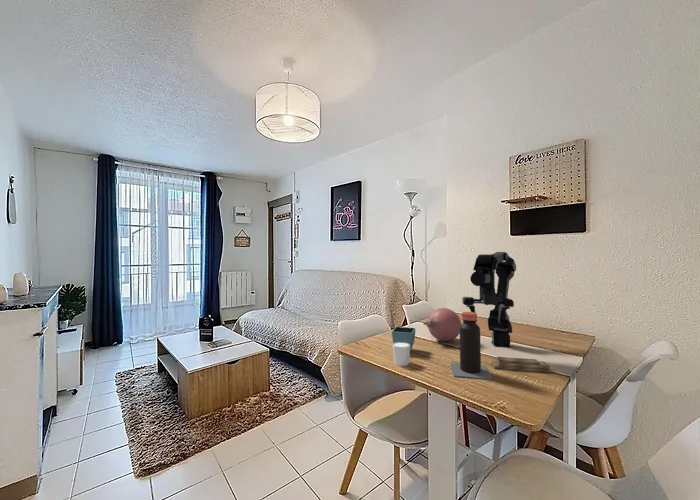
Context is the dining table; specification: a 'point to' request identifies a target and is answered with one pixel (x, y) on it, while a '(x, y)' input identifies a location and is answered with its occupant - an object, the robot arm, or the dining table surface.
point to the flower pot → (403, 335)
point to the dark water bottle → (470, 344)
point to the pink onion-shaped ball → (444, 324)
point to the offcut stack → (521, 364)
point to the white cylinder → (401, 353)
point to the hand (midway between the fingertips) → (487, 322)
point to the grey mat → (459, 373)
